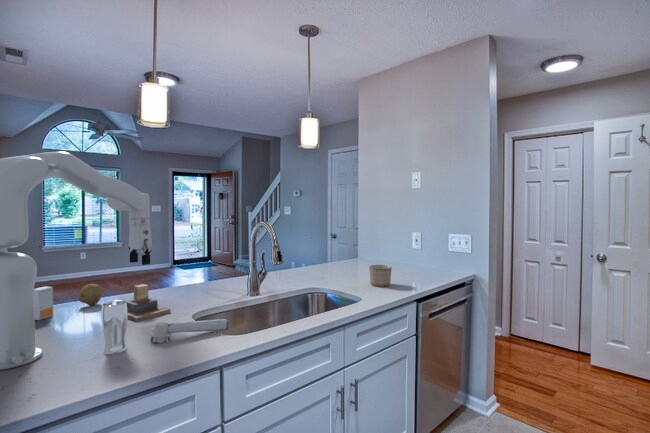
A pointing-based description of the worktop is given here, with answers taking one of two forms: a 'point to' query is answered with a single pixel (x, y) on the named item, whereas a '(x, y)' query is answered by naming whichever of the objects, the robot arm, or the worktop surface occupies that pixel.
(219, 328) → the white handle
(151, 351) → the worktop surface
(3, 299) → the robot arm
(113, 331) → the beer glass
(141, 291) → the oak peg
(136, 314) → the peg caddy
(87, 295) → the natural sponge
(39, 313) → the skincare box
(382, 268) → the planter
